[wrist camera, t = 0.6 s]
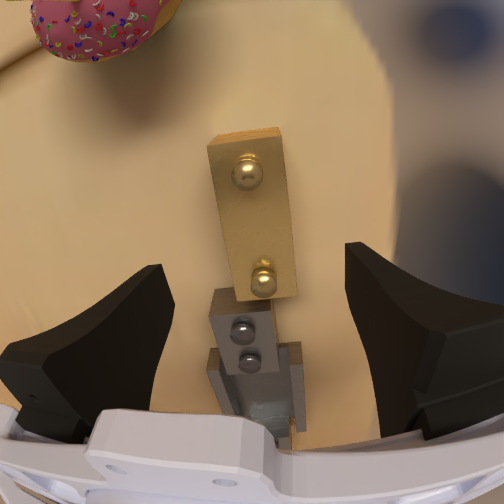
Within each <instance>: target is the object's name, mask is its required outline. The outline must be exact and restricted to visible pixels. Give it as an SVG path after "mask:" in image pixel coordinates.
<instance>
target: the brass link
mask: <svg viewBox="0 0 504 504" xmlns="http://www.w3.org/2000/svg"><path fill="white" fill-rule="evenodd" d="M207 152H208V157H209V162H210V168H211V173H212V178H213V184H214V189H215V194H216V199H217V205H218V210H219V215H220V220H221V225H222V230H223V235H224V240H225V245H226V250H227V255H228V260H229V265H230V270H231V274H232V279H233V284H234V289H235V294H236V298H237V301H249V300H260V299H271V298H282V297H292V296H297V285H296V273H295V261H294V250H293V239H292V228H291V218H290V208H289V199H288V189H287V180H286V171H285V163H284V154H283V146H282V138H281V134H280V130H279V127H272V128H263V129H255V130H248V131H240V132H234V133H227V134H220V135H218V136H216V137H215V138H214V139H213V140H212V141H211V142H210V143H209V144H208V145H207Z"/></svg>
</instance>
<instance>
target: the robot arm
mask: <svg viewBox="0 0 504 504" xmlns="http://www.w3.org/2000/svg"><path fill="white" fill-rule="evenodd" d="M345 290H346V295H347V299H348V303H349V308H350V311H351V314H352V316H353V319H354V322H355V324H356V327H357V330H358V333H359V335H360V338H361V341H362V344H363V346H364V349H365V352H366V355H367V359H368V362H369V367H370V371H371V376H372V381H373V386H374V392H375V398H376V404H377V411H378V418H379V424H380V435H381V438H380V439H376V440H370V441H365V442H359V443H353V444H347V445H340V446H333V447H325V448H316V449H307V450H288V449H277V448H276V445H275V441H274V437H273V435H272V434H271V433H270V432H269V431H268V430H267V429H266V427H265V426H264V425H262V424H261V423H258V422H256V421H253V420H250V419H248V418H245V417H243V416H237V415H228V414H219V413H177V412H159V411H149V406H150V399H151V393H152V387H153V382H154V377H155V373H156V370H157V366H158V363H159V360H160V357H161V354H162V351H163V348H164V346H165V343H166V340H167V337H168V334H169V331H170V328H171V324H172V319H173V314H174V308H175V303H174V300H173V297H172V294H171V291H170V288H169V285H168V282H167V279H166V276H165V273H164V270H163V267H162V264H156V265H148V266H146V267H144V268H143V269H141V270H140V271H138V272H137V273H136V274H134V275H133V276H132V277H130V278H129V279H128V280H126V281H125V282H124V283H123V284H121V285H120V286H119V287H118V288H116V289H115V290H114V291H112V292H111V293H110V294H108V295H107V296H106V297H104V298H103V299H102V300H100V301H99V302H97V303H96V304H95V305H93V306H92V307H90V308H89V309H87V310H85V311H84V312H82V313H81V314H79V315H77V316H76V317H74V318H72V319H70V320H68V321H66V322H64V323H62V324H60V325H58V326H56V327H54V328H52V329H50V330H48V331H45V332H43V333H40V334H38V335H35V336H32V337H29V338H26V339H23V340H20V341H17V342H13V343H10V344H9V345H8V346H7V347H6V348H5V350H4V351H3V353H2V354H1V355H0V379H1V381H2V382H3V383H4V385H5V386H6V387H7V388H8V390H9V391H10V392H11V393H12V394H13V395H14V397H15V398H16V399H17V400H18V401H19V402H20V403H21V405H23V406H22V408H21V410H20V412H19V411H18V410H17V409H15V408H13V407H11V406H8V405H5V404H2V403H0V494H1V496H2V498H3V499H4V501H5V503H6V504H47V503H46V502H44V501H42V500H40V499H38V498H36V497H35V496H33V495H31V494H29V493H28V492H26V491H24V490H23V489H21V488H19V487H18V486H17V485H16V484H15V483H14V481H15V482H17V483H19V484H21V485H23V486H25V487H27V488H29V489H31V490H33V491H35V492H37V493H38V494H40V495H42V496H44V497H46V498H48V499H49V500H51V501H53V502H55V503H57V504H463V503H465V502H467V501H469V500H472V499H474V498H476V497H478V496H480V495H482V494H484V493H486V492H488V491H490V490H492V489H494V488H496V487H498V486H500V485H501V484H503V483H504V306H503V305H500V304H494V303H488V302H483V301H478V300H474V299H470V298H467V297H463V296H459V295H456V294H453V293H450V292H448V291H445V290H442V289H439V288H437V287H435V286H432V285H430V284H428V283H426V282H424V281H422V280H420V279H417V278H416V277H414V276H412V275H410V274H409V273H407V272H405V271H404V270H402V269H400V268H399V267H397V266H395V265H394V264H392V263H391V262H389V261H388V260H386V259H385V258H383V257H382V256H381V255H379V254H378V253H376V252H375V251H374V250H372V249H371V248H369V247H368V246H366V245H365V244H363V243H362V242H353V243H345ZM13 480H14V481H13Z"/></svg>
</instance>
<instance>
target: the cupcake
mask: <svg viewBox="0 0 504 504" xmlns="http://www.w3.org/2000/svg"><path fill="white" fill-rule="evenodd" d="M6 1H22V0H6ZM181 1H182V0H33V3H32V5H31V9H30V10H29V11H30V12H31V13H32V18H31V22H32V24H33V28H34V31H35V33H36V35H37V36H36V38H37V40H40V45H41V47H42V45H43V46H44V47H45V48H46V49H47V50H48V51H49V52H50V53H52V54H53V55H55V56H57V57H61V58H63V59H66V60H70V61H75V62H85V63H99V62H104V61H107V60H109V59H111V58H114V57H116V56H119V55H121V54H124V53H127V52H130V51H133V50H134V49H136V48H137V47H139V46H140V45H141V44H142V43H143V42H144V41H145V40H147V39H148V38H149V37H150V36H152V35H153V34H154V33H155V32H157V31H158V30H159V29H160V28H161V27H163V26H164V25H165V24H166V23H167V22H168V21H169V20H170V19H171V18H172V17H173V15H174V14H175V12H176V10H177V8H178V6H179V4H180V3H181Z"/></svg>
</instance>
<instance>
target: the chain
mask: <svg viewBox="0 0 504 504" xmlns="http://www.w3.org/2000/svg"><path fill="white" fill-rule="evenodd" d="M209 319H210V322H211V325H212V329H213V332H214V335H215V338H216V341H217V345H218V348H210V353H209V358H208V363H207V368H206V372H207V374H208V377H209V379H210V382H211V384H212V387H213V389H214V392H215V394H216V397H217V399H218V402H219V404H220V406H221V409H222V411H223V413H224V414H228V415H237V416H243V417H245V418H248V419H250V420H253V421H256V422H258V423H261V424H262V425H264V426H265V427H266V429H267V430H268V431H269V432H270V433H271V434H272V435H273V437H274V441H275V445H276V448H277V449H288V450H292V437H291V429H290V421H289V417H295V421H296V432H305V431H306V411H305V392H304V375H303V361H302V351H301V341H300V342H291V343H280V344H279V340H278V333H277V325H276V318H275V311H274V304H273V298H271V299H260V300H249V301H237V298H236V294H235V289H234V287H232V288H222V289H215V291H214V295H213V299H212V304H211V308H210V312H209Z"/></svg>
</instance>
